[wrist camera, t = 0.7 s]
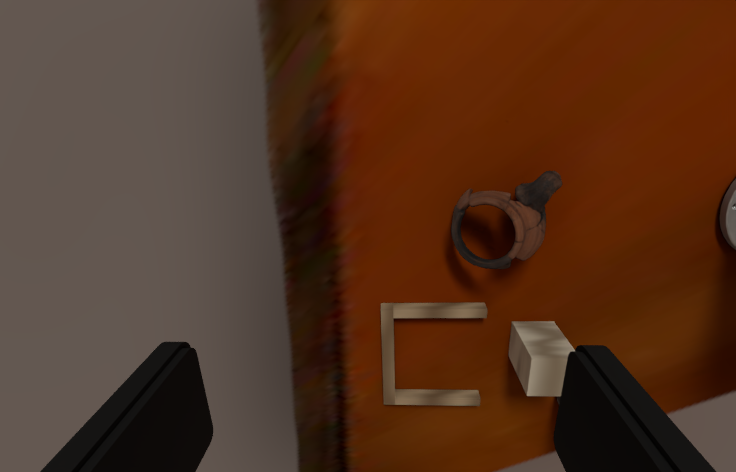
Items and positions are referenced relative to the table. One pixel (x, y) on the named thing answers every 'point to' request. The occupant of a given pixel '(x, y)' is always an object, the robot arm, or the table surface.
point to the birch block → (539, 357)
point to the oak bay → (387, 330)
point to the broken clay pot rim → (523, 215)
